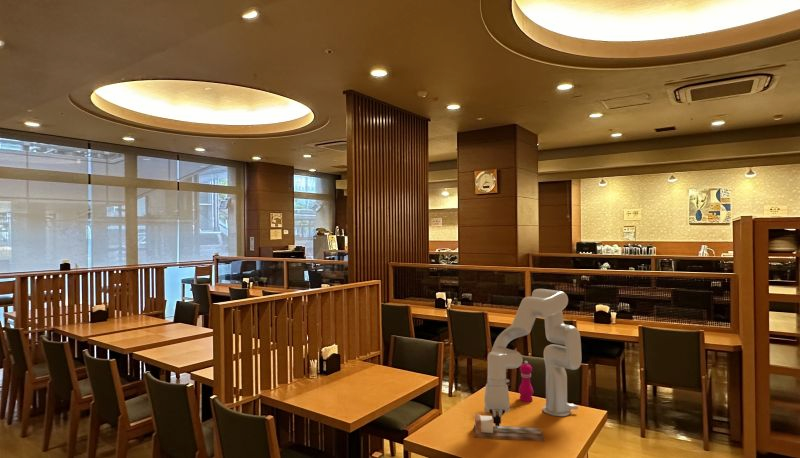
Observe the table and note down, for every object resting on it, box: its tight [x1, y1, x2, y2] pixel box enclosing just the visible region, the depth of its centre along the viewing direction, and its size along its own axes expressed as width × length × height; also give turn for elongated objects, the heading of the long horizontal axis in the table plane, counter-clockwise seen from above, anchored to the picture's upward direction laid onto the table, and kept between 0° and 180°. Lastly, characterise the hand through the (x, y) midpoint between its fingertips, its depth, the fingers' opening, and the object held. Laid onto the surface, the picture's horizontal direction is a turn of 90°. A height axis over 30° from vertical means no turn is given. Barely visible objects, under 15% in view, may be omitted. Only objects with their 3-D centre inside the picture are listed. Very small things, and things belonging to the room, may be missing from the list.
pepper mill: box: [518, 360, 534, 403], centre depth 232 cm, size 7×7×20 cm
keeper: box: [480, 414, 494, 433], centre depth 193 cm, size 5×7×4 cm
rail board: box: [473, 413, 545, 442], centre depth 192 cm, size 28×10×6 cm, turn 83°
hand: (497, 425), depth 192 cm, fingers closed
